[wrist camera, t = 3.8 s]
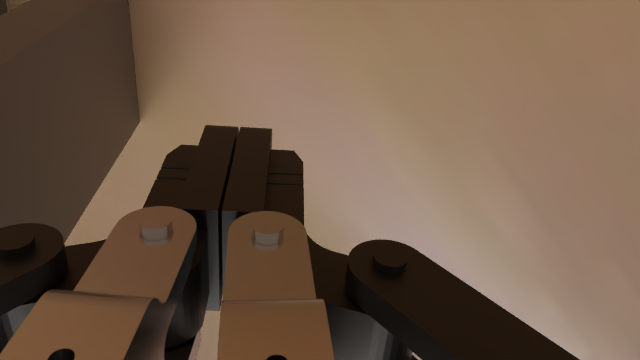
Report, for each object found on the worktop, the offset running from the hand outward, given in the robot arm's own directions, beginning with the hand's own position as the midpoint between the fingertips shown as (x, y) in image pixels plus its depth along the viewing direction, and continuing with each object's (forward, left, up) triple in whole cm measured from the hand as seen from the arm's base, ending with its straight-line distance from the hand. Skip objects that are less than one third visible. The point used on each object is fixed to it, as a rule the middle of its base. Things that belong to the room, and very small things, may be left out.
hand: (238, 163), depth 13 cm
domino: (+5, 0, -8) cm, 9 cm away
